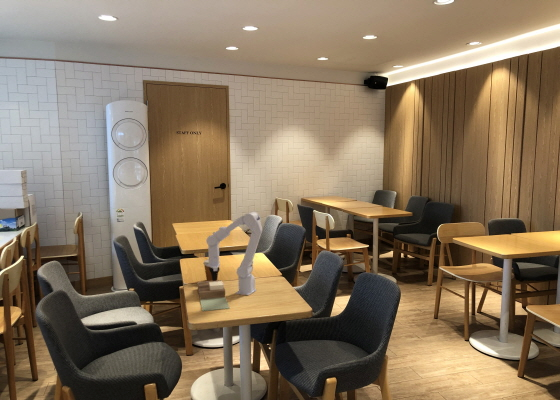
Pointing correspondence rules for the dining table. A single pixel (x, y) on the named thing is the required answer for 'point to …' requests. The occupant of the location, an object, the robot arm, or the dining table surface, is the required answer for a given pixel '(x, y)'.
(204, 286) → the deck
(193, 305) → the dining table surface
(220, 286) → the tile
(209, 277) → the disposable coffee cup
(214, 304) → the mat
